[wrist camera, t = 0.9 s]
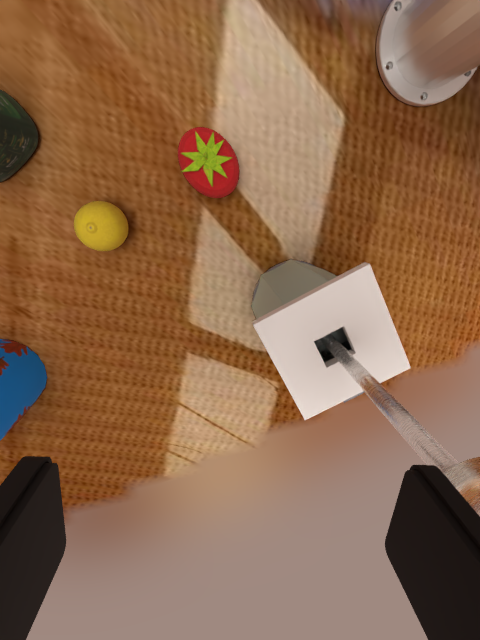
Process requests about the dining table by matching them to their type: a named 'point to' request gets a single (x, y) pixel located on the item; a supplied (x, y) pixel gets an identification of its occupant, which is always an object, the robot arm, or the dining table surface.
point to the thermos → (18, 382)
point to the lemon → (101, 226)
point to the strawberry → (208, 162)
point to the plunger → (405, 420)
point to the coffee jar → (14, 136)
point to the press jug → (324, 330)
